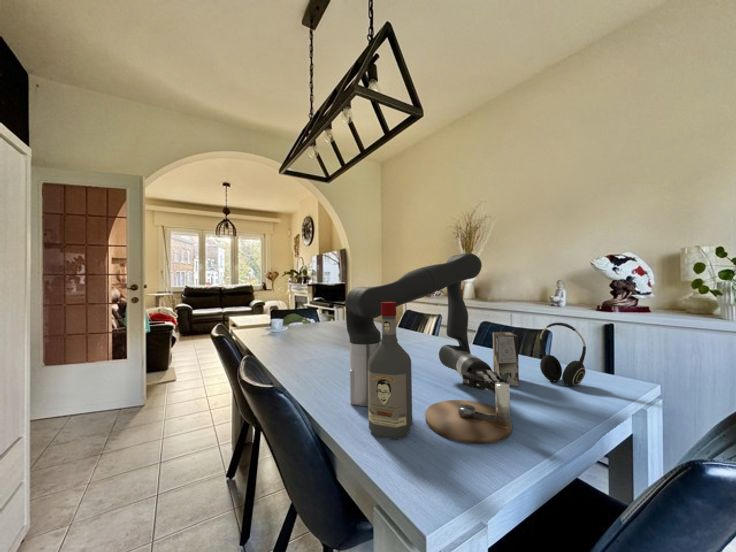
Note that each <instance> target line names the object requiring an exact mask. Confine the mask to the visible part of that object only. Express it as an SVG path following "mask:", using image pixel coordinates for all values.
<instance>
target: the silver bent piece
mask: <svg viewBox="0 0 736 552" xmlns="http://www.w3.org/2000/svg"><path fill="white" fill-rule="evenodd" d="M510 392H511V391H510V385H509V384H508V383H504V382H496V383H495V394H494V395H495V397H494V398H495V400H494V402H495V408H496V417H495V416H491V415H487V414H483V413H479V412H475V407H473V406H471V405H459V406H458V414H459V415H460V416H461V417H464V418H473V417H474V418H478V419H481V420H485V421H489V422H492V423H496V424H500V425H503V426H505V425H509V424H510V419H511V403H510V402H511V398H510V397H511V396H510Z"/></svg>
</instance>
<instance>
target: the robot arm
mask: <svg viewBox="0 0 736 552" xmlns="http://www.w3.org/2000/svg"><path fill="white" fill-rule="evenodd" d="M482 264H483V263H482V260H481V258H480V257H478V255H476V254H475V253H471V252H469V253H468V252H467V253H466V252H465V253H462V254H461V253H460V254H456V255H451V256H450V257H449V258H448V259H447V261H446V262H445V263H444V262H443V263H436V264H432V265H426V266H423V267H420V268H416V269H413V270H411V271H408V272H406V273H404V274H403V275H401V276H400V277H399V278H398V279H397V280H395V281H393V282H390V283H386V284H383V285H376V286H356V287H353V288H352V289H351V290H350V291H349V292H348V293H347V295H346V298H345V321H346V322H345V323H346V331H347V334H348V337H349V382H350V383H349V388H350V389H349V393H350V395H349V396H350V398H349V399H350V405H356V406H358V407H359V406H360V407H368V360H369V358H370V357H371V355H372V354H373V353H374V351H375V350H376V349H377V348H378V346H379V345H380V344H381V339H382V332H380V330H379V329H378V327H377V326H376V324H375V321H374V320H375V319H376V318H380V317H382V316H381V302H396V308H398V307H400V306H403V305H404V304H408V303H411V302H414V301H416V300H419V299H422V298H425V297H427V296H430V295H432V294H434V293H436V292H439V291H441V290H444V289H445V288H446V293H447V321H446V336H447V337H448V338H451V339H454V340H456V341H457V342H458V343H457V344H458V345H453V344H445V345H442V346H441V347H440V349H439V351H438V358H439V361H440V363H441V364H442V365H443V366H445V367H446V368H449V369H451V370H453V371H456V372H457V373H458V374H459V375H460V376H461V377H460V378H462V386H465V387H469V388H473V389H476V390H478V391H485V390H487V391H489V392H491V393H492V394H494V395H495V383H496V382H504V383H508V384H509V374H506V373H505V374H503V375H501V376H499V375H498V374H497V373H496V372H494V370H493V369H492V367H491V366H490V365H489V363H487V362H485V361H484V360H483V359H481V358H479V357H477V356H476V355H473V354H472V353H471V348H470V344H469V339H468V338H469V337H468V329H469V328H468V327H469V312H468V308H467V305H466V303H465V301H464V298H463V294H462V282H463V281H467V280H473V279H475V278H476V277H478V276H479V275H480V272H481V271H482V267H483V265H482Z"/></svg>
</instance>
